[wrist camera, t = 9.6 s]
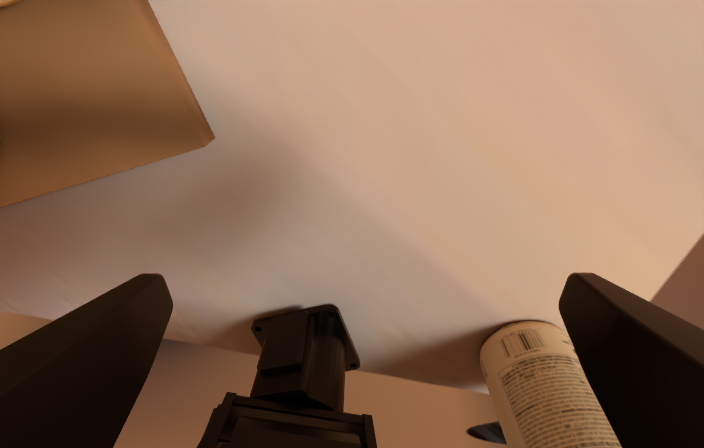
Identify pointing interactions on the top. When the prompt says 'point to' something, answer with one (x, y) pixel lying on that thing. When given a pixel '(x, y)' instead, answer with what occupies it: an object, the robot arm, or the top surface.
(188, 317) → the top surface
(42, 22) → the board
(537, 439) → the spray can
